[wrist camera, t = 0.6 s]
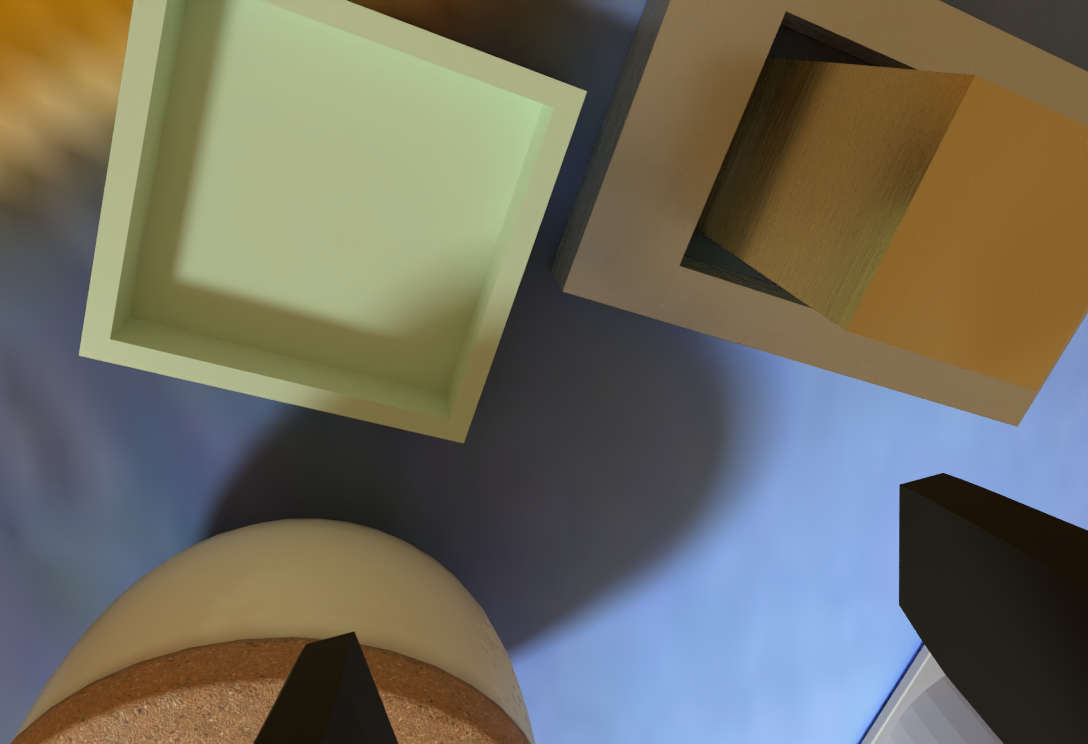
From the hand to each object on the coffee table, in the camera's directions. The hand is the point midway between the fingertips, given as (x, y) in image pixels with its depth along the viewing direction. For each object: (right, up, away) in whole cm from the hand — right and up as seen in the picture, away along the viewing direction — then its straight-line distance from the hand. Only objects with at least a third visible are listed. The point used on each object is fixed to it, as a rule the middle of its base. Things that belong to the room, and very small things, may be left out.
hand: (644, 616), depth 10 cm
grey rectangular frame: (+6, +7, +9) cm, 13 cm away
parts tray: (-6, +7, +7) cm, 11 cm away
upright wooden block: (+5, +8, +8) cm, 13 cm away
